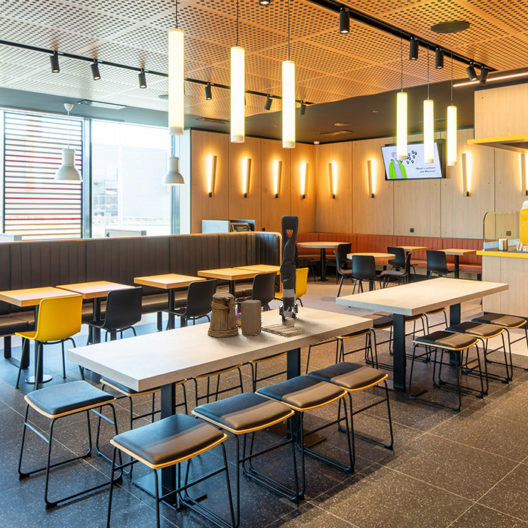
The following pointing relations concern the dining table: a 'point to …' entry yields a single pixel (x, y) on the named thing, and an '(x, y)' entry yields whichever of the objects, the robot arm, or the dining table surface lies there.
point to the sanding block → (288, 322)
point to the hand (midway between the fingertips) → (288, 321)
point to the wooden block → (251, 317)
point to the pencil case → (238, 319)
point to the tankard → (223, 316)
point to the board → (282, 330)
